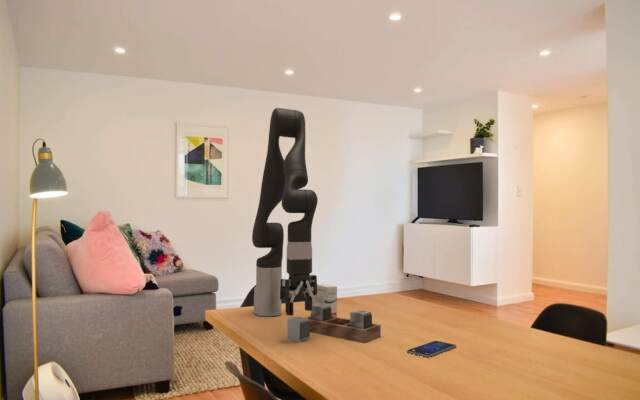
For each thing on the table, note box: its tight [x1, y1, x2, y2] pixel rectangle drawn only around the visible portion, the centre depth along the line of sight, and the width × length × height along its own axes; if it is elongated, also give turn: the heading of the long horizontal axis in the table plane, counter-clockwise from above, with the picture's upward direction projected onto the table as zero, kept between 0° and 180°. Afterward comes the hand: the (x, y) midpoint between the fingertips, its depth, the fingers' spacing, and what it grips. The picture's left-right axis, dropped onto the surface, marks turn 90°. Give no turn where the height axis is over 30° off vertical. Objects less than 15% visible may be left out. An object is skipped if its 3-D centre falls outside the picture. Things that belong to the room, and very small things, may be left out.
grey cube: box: [286, 315, 311, 343], centre depth 137 cm, size 5×4×6 cm
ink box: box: [312, 283, 338, 317], centre depth 164 cm, size 8×5×12 cm, turn 39°
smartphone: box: [406, 340, 457, 359], centre depth 128 cm, size 7×1×15 cm
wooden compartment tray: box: [305, 304, 382, 344], centre depth 145 cm, size 24×9×8 cm, turn 53°
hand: (299, 312), depth 137 cm, fingers open, 8 cm apart
